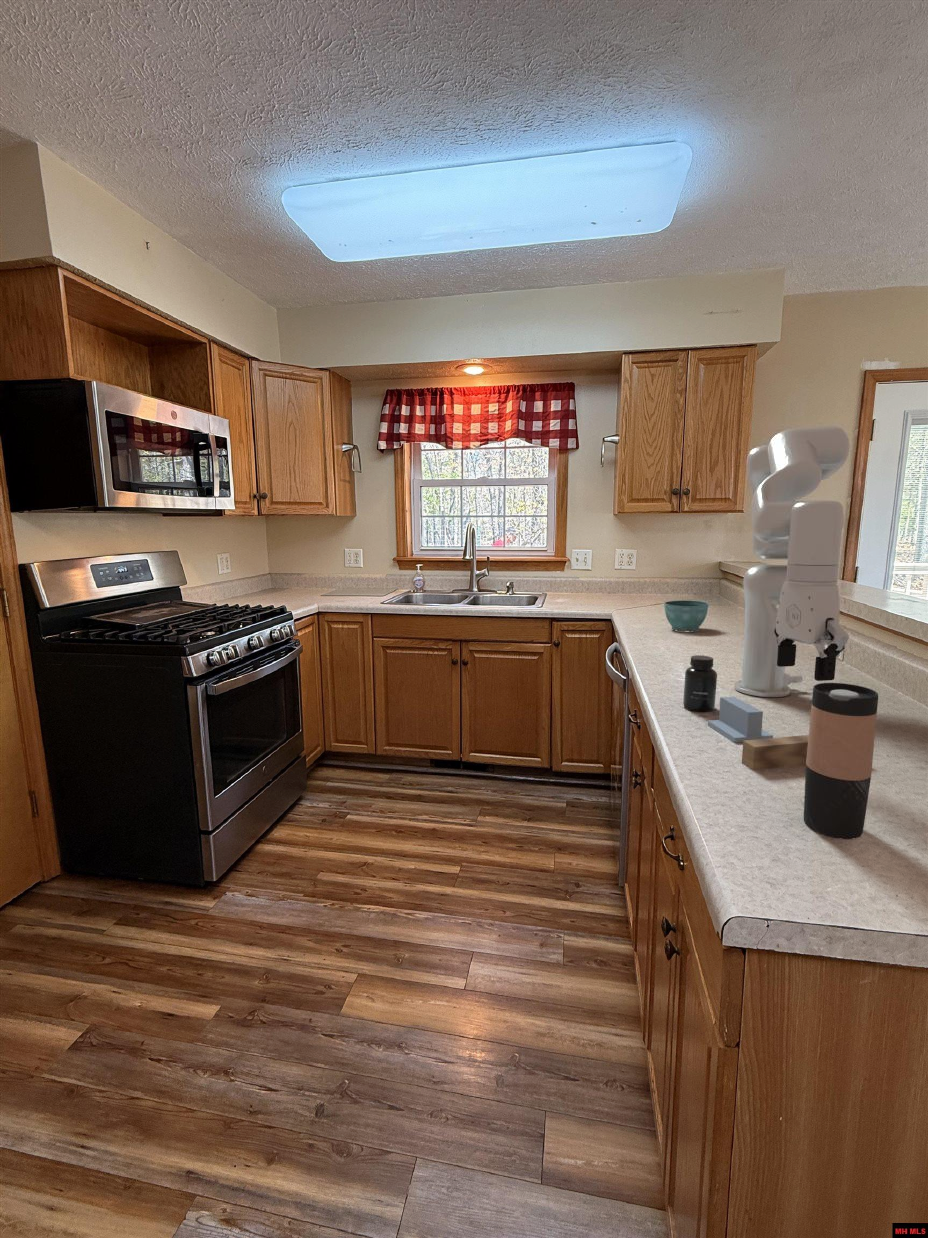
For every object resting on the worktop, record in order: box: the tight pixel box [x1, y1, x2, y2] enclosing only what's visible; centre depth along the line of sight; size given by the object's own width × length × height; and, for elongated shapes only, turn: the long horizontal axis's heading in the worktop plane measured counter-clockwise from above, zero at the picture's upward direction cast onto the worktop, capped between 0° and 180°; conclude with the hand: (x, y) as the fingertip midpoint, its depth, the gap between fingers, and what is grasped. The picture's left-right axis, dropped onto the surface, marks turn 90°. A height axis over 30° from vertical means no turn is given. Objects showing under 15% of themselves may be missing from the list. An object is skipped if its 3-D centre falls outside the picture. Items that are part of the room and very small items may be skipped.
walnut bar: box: [741, 734, 809, 771], centre depth 103 cm, size 20×3×4 cm, turn 99°
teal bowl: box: [663, 599, 709, 633], centre depth 225 cm, size 16×16×11 cm
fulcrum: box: [707, 696, 774, 744], centre depth 118 cm, size 8×10×6 cm
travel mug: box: [803, 682, 879, 840], centre depth 80 cm, size 8×8×20 cm
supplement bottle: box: [682, 654, 718, 713], centre depth 133 cm, size 7×7×12 cm
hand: (804, 672), depth 101 cm, fingers open, 9 cm apart
